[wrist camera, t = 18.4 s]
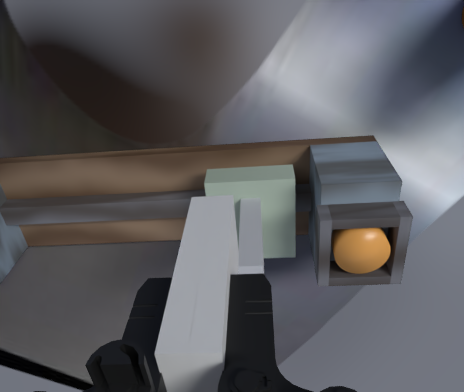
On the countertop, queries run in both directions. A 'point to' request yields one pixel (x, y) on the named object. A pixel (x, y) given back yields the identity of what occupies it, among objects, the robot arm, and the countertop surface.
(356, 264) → the button
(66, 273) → the countertop surface
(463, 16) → the disposable coffee cup
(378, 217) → the rail bench
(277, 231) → the block
